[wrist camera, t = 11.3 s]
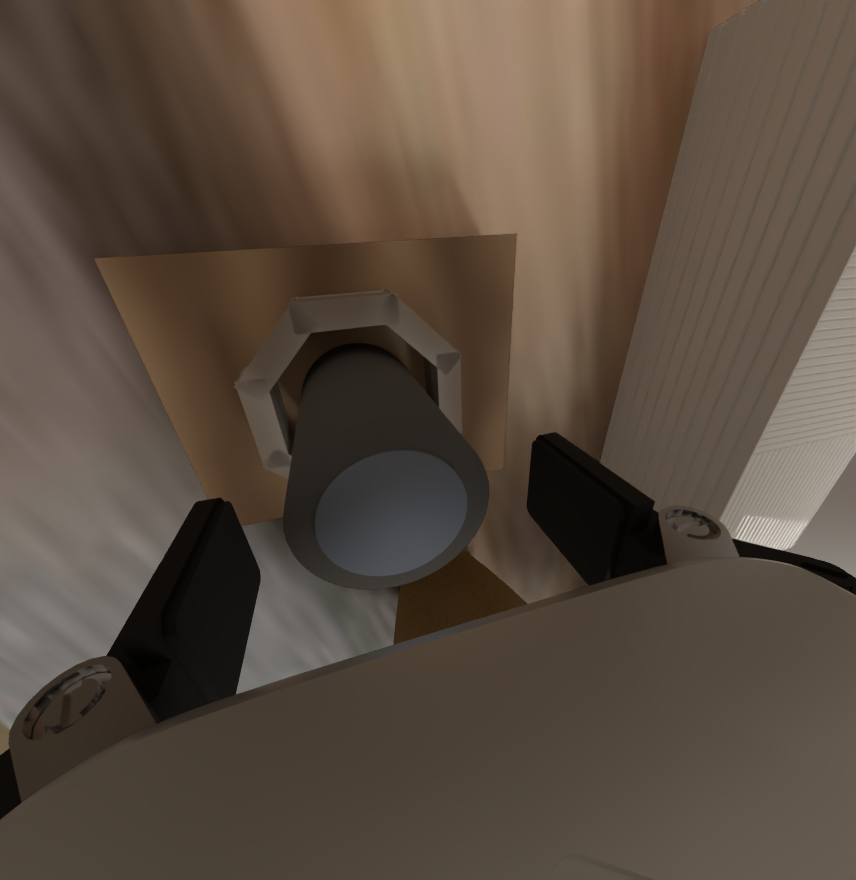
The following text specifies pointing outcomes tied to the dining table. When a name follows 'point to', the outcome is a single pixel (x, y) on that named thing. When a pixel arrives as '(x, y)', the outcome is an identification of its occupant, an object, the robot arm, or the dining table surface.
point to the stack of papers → (752, 284)
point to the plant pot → (451, 598)
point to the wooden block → (313, 343)
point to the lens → (377, 475)
